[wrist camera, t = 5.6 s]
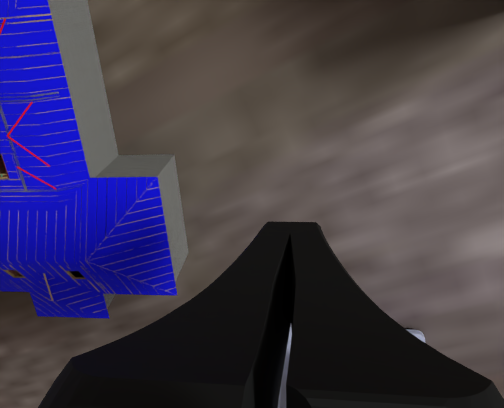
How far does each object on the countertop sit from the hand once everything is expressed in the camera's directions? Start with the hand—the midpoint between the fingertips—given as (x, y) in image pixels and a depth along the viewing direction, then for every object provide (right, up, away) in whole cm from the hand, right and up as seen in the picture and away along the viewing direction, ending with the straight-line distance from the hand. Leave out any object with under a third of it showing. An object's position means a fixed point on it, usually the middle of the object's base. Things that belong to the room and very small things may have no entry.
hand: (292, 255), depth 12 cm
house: (-10, +4, +11) cm, 15 cm away
